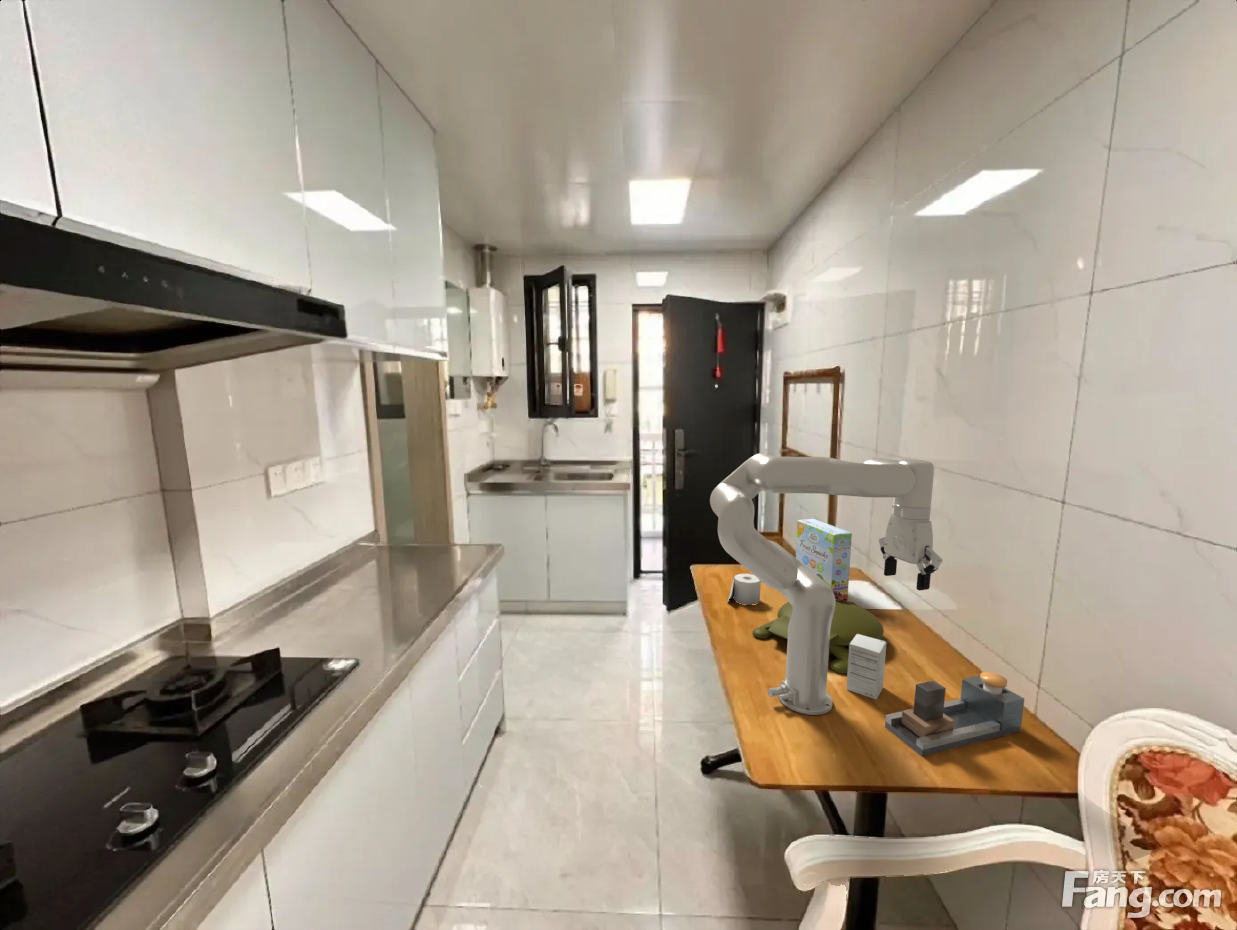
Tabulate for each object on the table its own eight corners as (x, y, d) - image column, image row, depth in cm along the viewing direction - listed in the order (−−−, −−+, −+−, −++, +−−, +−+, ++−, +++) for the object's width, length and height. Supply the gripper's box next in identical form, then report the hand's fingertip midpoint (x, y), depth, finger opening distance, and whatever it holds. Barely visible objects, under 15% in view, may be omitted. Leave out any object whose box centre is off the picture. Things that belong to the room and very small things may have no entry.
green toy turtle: (844, 678, 139) (846, 644, 137) (748, 636, 162) (749, 606, 161) (900, 639, 161) (902, 609, 159) (809, 607, 184) (810, 581, 183)
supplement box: (853, 677, 139) (856, 632, 137) (884, 687, 134) (887, 641, 132) (845, 689, 133) (848, 643, 131) (876, 700, 128) (880, 652, 126)
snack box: (792, 582, 207) (795, 519, 204) (810, 580, 210) (814, 517, 206) (829, 603, 187) (833, 533, 183) (849, 600, 189) (854, 532, 186)
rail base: (921, 756, 109) (925, 721, 107) (884, 727, 118) (887, 694, 117) (1020, 731, 117) (1024, 698, 115) (978, 706, 126) (981, 675, 125)
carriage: (923, 740, 111) (928, 696, 110) (901, 723, 117) (904, 681, 115) (952, 733, 113) (957, 690, 112) (929, 716, 119) (933, 676, 118)
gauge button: (992, 718, 117) (996, 685, 116) (971, 705, 122) (975, 673, 121) (1008, 714, 118) (1012, 681, 117) (987, 701, 123) (991, 670, 122)
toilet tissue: (722, 603, 187) (723, 580, 185) (743, 593, 195) (744, 571, 194) (743, 611, 180) (744, 587, 179) (764, 601, 189) (765, 578, 188)
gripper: (871, 505, 129) (866, 571, 132) (930, 522, 113) (923, 597, 115) (895, 503, 131) (890, 568, 134) (957, 520, 115) (950, 593, 117)
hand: (905, 582), depth 125 cm, fingers open, 9 cm apart
